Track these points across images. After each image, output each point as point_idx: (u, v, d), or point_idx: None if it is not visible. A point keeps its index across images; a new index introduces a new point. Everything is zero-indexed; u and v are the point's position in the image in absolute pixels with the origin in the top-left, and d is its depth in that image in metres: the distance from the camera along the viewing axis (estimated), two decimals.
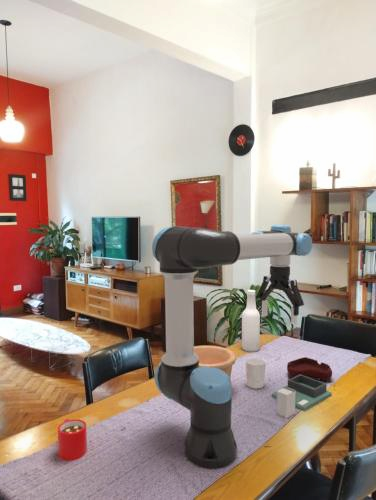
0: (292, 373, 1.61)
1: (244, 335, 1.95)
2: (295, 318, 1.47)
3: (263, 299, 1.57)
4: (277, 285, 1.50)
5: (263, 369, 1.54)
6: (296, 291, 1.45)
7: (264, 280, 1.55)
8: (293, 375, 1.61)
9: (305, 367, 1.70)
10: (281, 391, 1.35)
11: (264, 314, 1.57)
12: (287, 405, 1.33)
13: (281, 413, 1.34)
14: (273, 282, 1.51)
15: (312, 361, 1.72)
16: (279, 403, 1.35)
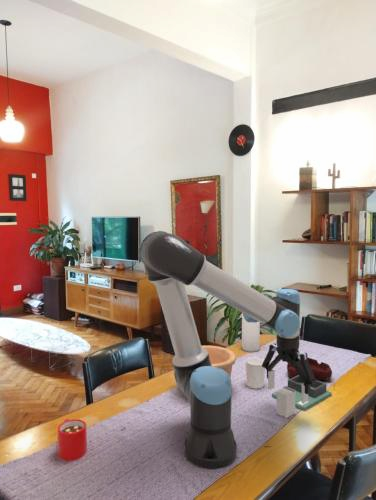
0: (292, 372, 1.61)
1: (244, 335, 1.95)
2: (306, 396, 1.30)
3: (269, 370, 1.40)
4: (285, 357, 1.33)
5: (263, 369, 1.54)
6: (307, 367, 1.28)
7: (270, 349, 1.38)
8: (293, 375, 1.61)
9: None
10: (281, 390, 1.35)
11: (271, 386, 1.40)
12: (287, 405, 1.33)
13: (281, 413, 1.34)
14: (280, 354, 1.34)
15: (311, 361, 1.73)
16: (279, 403, 1.35)
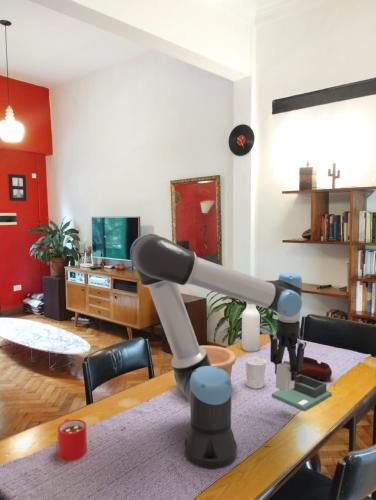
0: None
1: (244, 335, 1.95)
2: (292, 383, 1.33)
3: None
4: (284, 342, 1.33)
5: (263, 369, 1.54)
6: (300, 355, 1.29)
7: (271, 339, 1.37)
8: None
9: (304, 366, 1.71)
10: (281, 364, 1.34)
11: None
12: (286, 379, 1.32)
13: (280, 387, 1.33)
14: (280, 338, 1.33)
15: (311, 360, 1.73)
16: (278, 377, 1.34)
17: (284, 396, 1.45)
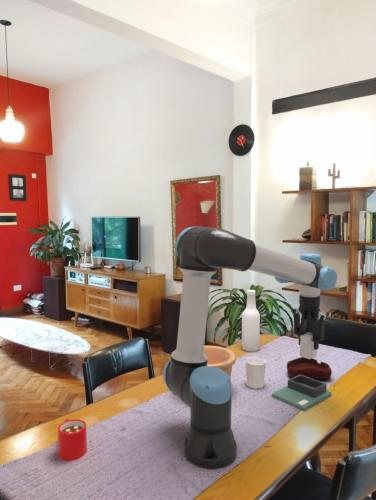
0: (292, 372, 1.62)
1: (244, 335, 1.95)
2: (315, 352, 1.48)
3: None
4: (307, 315, 1.47)
5: (263, 369, 1.54)
6: (322, 326, 1.43)
7: (294, 313, 1.51)
8: (293, 374, 1.62)
9: (304, 366, 1.71)
10: (304, 335, 1.49)
11: None
12: (310, 348, 1.46)
13: (304, 355, 1.48)
14: (303, 312, 1.48)
15: (311, 360, 1.73)
16: (302, 346, 1.48)
17: (284, 396, 1.45)
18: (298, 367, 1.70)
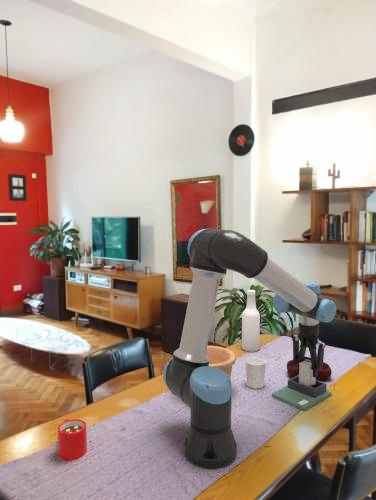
0: (291, 372, 1.62)
1: (244, 335, 1.95)
2: (314, 379, 1.49)
3: None
4: (306, 343, 1.49)
5: (263, 369, 1.54)
6: (321, 355, 1.45)
7: (293, 340, 1.53)
8: (293, 374, 1.62)
9: None
10: (303, 363, 1.50)
11: None
12: (309, 375, 1.48)
13: (303, 383, 1.49)
14: (302, 340, 1.49)
15: None
16: (301, 374, 1.50)
17: (284, 396, 1.45)
18: None
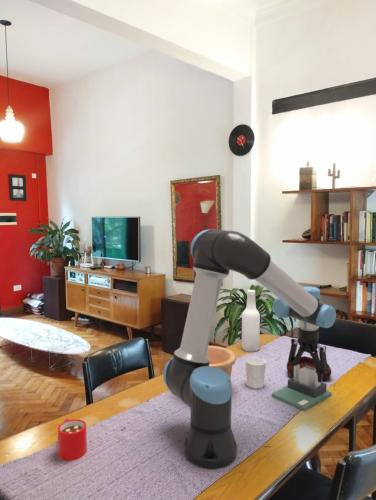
0: (291, 371, 1.62)
1: (244, 335, 1.95)
2: (319, 384, 1.47)
3: (295, 364, 1.54)
4: (306, 348, 1.49)
5: (263, 369, 1.54)
6: (323, 358, 1.44)
7: (292, 343, 1.53)
8: (292, 374, 1.62)
9: (304, 366, 1.71)
10: (303, 369, 1.50)
11: (296, 380, 1.54)
12: (308, 382, 1.48)
13: None
14: (302, 345, 1.49)
15: (311, 360, 1.74)
16: (300, 380, 1.50)
17: (284, 396, 1.45)
18: None
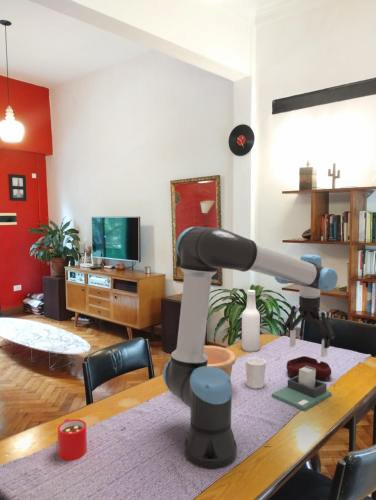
0: (291, 371, 1.63)
1: (244, 335, 1.95)
2: (325, 350, 1.44)
3: (291, 329, 1.54)
4: (307, 316, 1.48)
5: (263, 369, 1.54)
6: (327, 323, 1.42)
7: (292, 310, 1.52)
8: (292, 373, 1.62)
9: (304, 366, 1.72)
10: (303, 369, 1.50)
11: (292, 344, 1.54)
12: (308, 382, 1.48)
13: None
14: (302, 313, 1.48)
15: (311, 360, 1.74)
16: (300, 380, 1.50)
17: (284, 396, 1.45)
18: (298, 366, 1.70)
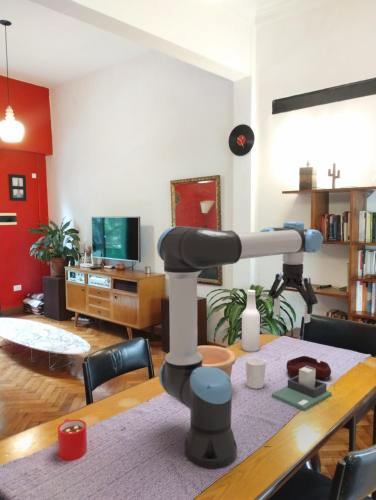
0: (291, 371, 1.63)
1: (244, 335, 1.95)
2: (308, 317, 1.44)
3: (275, 297, 1.54)
4: (290, 283, 1.47)
5: (263, 369, 1.54)
6: (310, 289, 1.42)
7: (276, 278, 1.52)
8: (292, 373, 1.63)
9: (304, 365, 1.72)
10: (303, 369, 1.50)
11: (276, 313, 1.54)
12: (308, 382, 1.48)
13: None
14: (286, 280, 1.48)
15: (311, 359, 1.74)
16: (300, 380, 1.50)
17: (284, 396, 1.45)
18: (298, 366, 1.71)
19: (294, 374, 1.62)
